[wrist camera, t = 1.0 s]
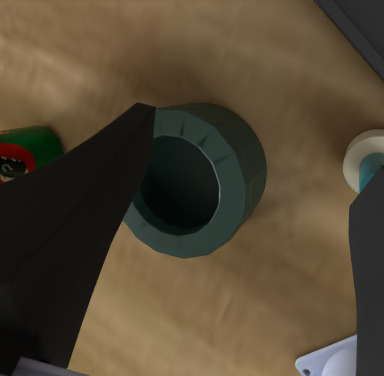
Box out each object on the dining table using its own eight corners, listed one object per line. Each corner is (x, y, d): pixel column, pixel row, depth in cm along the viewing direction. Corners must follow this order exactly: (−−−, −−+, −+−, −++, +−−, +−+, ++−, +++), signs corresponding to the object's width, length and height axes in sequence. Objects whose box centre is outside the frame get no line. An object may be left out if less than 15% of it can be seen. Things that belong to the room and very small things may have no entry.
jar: (295, 181, 23) (279, 206, 18) (200, 249, 27) (169, 281, 23) (207, 74, 23) (171, 73, 19) (128, 157, 28) (84, 172, 23)
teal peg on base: (420, 161, 20) (446, 200, 14) (368, 194, 21) (370, 241, 15) (383, 117, 20) (391, 135, 14) (333, 152, 21) (321, 182, 15)
